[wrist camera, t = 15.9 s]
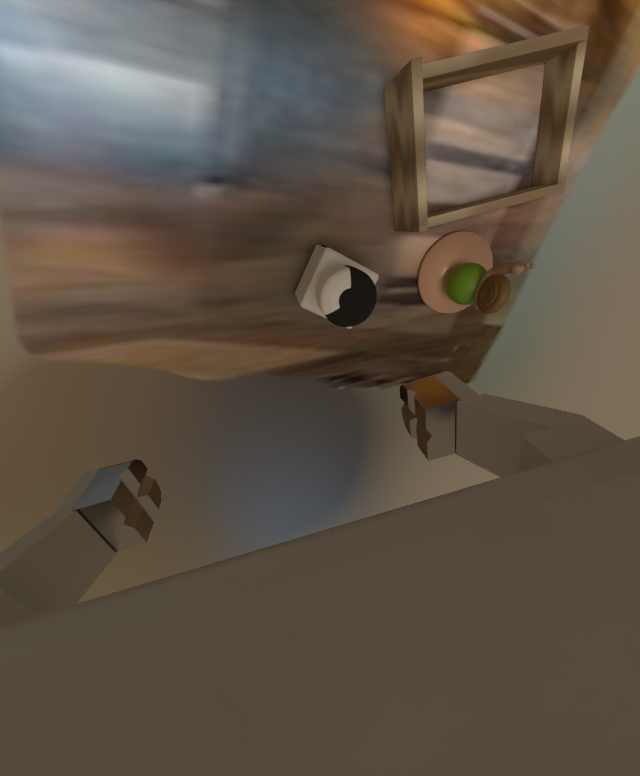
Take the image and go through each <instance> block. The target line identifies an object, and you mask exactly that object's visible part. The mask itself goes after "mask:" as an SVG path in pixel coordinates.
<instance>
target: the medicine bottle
mask: <svg viewBox="0 0 640 776" xmlns="http://www.w3.org/2000/svg"><path fill="white" fill-rule="evenodd" d="M378 277H379V276H378V274H377V273H375V272H373V271H371V270H369V269H367V268H366V267H364V266H362V265H360V264H358V263H356V262H355V261H353V260H351V259H349V258H347V257H346V256H344V255H342V254H340V253H338V252H336V251H335V250H333V249H331V248H329V247H326V246H324V245H321V244H317V245H316V246H315V248H314V251H313V253H312V255H311V257H310V260H309V262H308V264H307V267H306V269H305V271H304V273H303V276H302V278H301V280H300V283H299V285H298V287H297V289H296V292H295V295H296V297H297V299H298V302H299V304H300V306H301V307H302V308H304V309H307V310H309V311H311V312H313V313H315V314H318V315H320V316H322V317H324V318H326V319H328V320H329V321H330V322H332V323H333V324H335V325H337V326H341V327H346V328H348V329H351V328H352V327H353V326H355V325H358V324H360V323H362V322H363V321H364V320H366V319H367V318H368V317H369V315H370V314H371V313H372V311H373V309H374V306H375V303H376V297H377V293H376V287H375V284H376V282H377V280H378Z"/></svg>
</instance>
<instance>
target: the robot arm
mask: <svg viewBox="0 0 640 776" xmlns="http://www.w3.org/2000/svg"><path fill="white" fill-rule="evenodd" d="M400 398H401V399H402V400H403V402H404V405H403V407H402V409H401V410H402V418H403V421H404V424H405V427H406V429H407V431H408V433H409V434H410V435H411V437H413V438H416V439H417V443H418V447H419V448H420V450H421V451H422V453H423V454H424V455H425V457H426V458H427V460H432V459H436V458H440V457H444V456H448V455H451V454H455V453H456V455H458V456H460V457H462V458H464V459H466V460H468V461H470V462H472V463H474V464H476V465H478V466H480V467H482V468H484V469H486V470H488V471H490V472H492V473H494V474H496V475H498V476H499V477H501V478H497V479H494V480H491V481H487V482H484V483H481V484H477V485H474V486H471V487H467V488H464V489H461V490H457V491H454V492H451V493H447V494H444V495H441V496H437V497H434V498H431V499H428V500H424V501H421V502H417V503H414V504H411V505H407V506H404V507H401V508H397V509H394V510H390V511H387V512H384V513H380V514H377V515H373V516H370V517H367V518H363V519H360V520H357V521H353V522H350V523H346V524H343V525H339V526H336V527H333V528H329V529H326V530H322V531H319V532H316V533H312V534H309V535H306V536H303V537H299V538H296V539H292V540H289V541H286V542H282V543H279V544H275V545H272V546H269V547H265V548H262V549H259V550H256V551H252V552H249V553H246V554H242V555H239V556H235V557H232V558H229V559H225V560H222V561H219V562H215V563H212V564H209V565H205V566H202V567H199V568H195V569H192V570H188V571H185V572H182V573H179V574H175V575H172V576H168V577H165V578H161V579H158V580H155V581H151V582H148V583H145V584H141V585H138V586H135V587H131V588H128V589H124V590H121V591H118V592H114V593H111V594H108V595H104V596H101V597H98V598H94V599H91V600H88V601H84V602H81V603H78V604H76V603H77V602H78V601H79V600H80V598H81V597H82V596H83V595H84V594H85V592H86V591H87V590H88V588H89V587H90V586H91V585H92V584H93V583H94V581H95V580H96V579H97V578H98V576H99V575H100V574H101V573H102V571H103V570H104V569H105V568H106V567H107V565H108V564H109V563H110V562H111V560H112V559H113V558H114V557H115V555H116V552H119V551H123V550H125V549H129V548H132V547H135V546H138V545H141V544H144V543H147V540H148V537H149V534H150V532H151V529H152V527H153V524H154V522H153V520H152V518H151V517H152V516H153V515H154V514H155V513H156V511H158V509H159V506H160V504H161V490H160V487H159V485H158V483H157V482H156V480H155V479H154V478H151V477H149V476H147V475H146V473H147V467H146V466H145V465H144V464H143V462H142V461H141V460H137V459H135V460H131V461H127V462H123V463H119V464H115V465H112V466H108V467H104V468H100V469H96V470H93V471H90V472H87V473H85V474H82V475H81V476H80V477H79V479H78V480H77V481H76V483H75V484H74V486H73V487H72V488H71V490H70V491H69V492H68V494H67V495H66V497H65V498H64V499H63V501H62V502H61V504H60V505H59V506H58V508H57V509H56V510H55V512H54V513H53V515H52V516H51V517H50V518H47V519H44V520H43V521H42V522H40V523H39V524H38V525H36V526H35V527H34V528H32V529H31V530H30V531H28V532H27V533H26V534H24V535H23V536H22V537H21V538H19V539H18V540H17V541H15V542H14V543H13V544H11V545H10V546H9V547H8V548H6V549H5V550H4V551H2V552H1V553H0V776H640V436H639V437H635V438H632V439H628V440H623V439H621V438H620V437H618V436H616V435H615V434H613V433H611V432H610V431H608V430H606V429H605V428H603V427H601V426H599V425H598V424H596V423H595V422H593V421H591V420H590V419H588V418H586V417H585V416H583V415H580V414H575V413H571V412H566V411H562V410H557V409H552V408H548V407H543V406H538V405H534V404H529V403H525V402H520V401H516V400H511V399H506V398H502V397H497V396H493V395H488V394H482V395H479V394H478V393H476V392H475V391H474V390H472V389H471V388H470V387H469V386H467V385H466V384H465V383H463V382H462V381H461V380H460V379H458V378H457V377H456V376H454V375H453V374H452V373H451V372H448V371H445V372H442V373H439V374H436V375H432V376H430V377H427V378H423V379H420V380H417V381H413V382H410V383H407V384H404V385H400Z"/></svg>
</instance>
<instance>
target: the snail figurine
mask: <svg viewBox="0 0 640 776" xmlns="http://www.w3.org/2000/svg"><path fill="white" fill-rule="evenodd" d="M535 266H536V265H535V264H530V263H525V264H524V263H523V262H522V261H516V262H514V263H507V264H501V265H498V266H495V267H493V268H491V269H489V270H488V271H487V270H486V269H485V268H484V267H483V266H482V265H480V264H477V263H465V264H462V265H460V266H458V267H457V268H455V269H454V270H453V271H452V272H451V273H450V275H449V277H448V279H447V282H446V292H447V295H448V296H449V298H450V299H451V300H452V301H453V302H455V303H457V304H460V305H470V304H473V303H474V306H475V308H476V309H480V310H481V311H482V312H484V313H494V312H496V311H498V310H499V309H501V308H502V307H503V306H504V304H505V303H506V301H507V300H508V297H509V294H510V288H511V287H510V282H509V280H508V278H507V277H506V276H504V275H503V274H508V273H512V274H514V275H518V274H520V273H521V272H523V270H524V268H525V267H526V268H528V267H530V268H531V269H533V268H535Z"/></svg>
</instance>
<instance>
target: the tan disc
mask: <svg viewBox="0 0 640 776" xmlns="http://www.w3.org/2000/svg"><path fill="white" fill-rule="evenodd" d="M465 263H477V264H480V265H482V266H483V267H484V268H485V269H486V270H487V271H488V270H489V269H491V268H492V267H493V258H492V252H491V249H490V247H489V245H488V243H487V242H486V241H485V239H484V238H483V237H481V236H480V235H478V234H476V233H473V232H468V231H457V232H452V233H450V234H447V235H445V236H443V237H442V238H440V239H439V240H437V241H436V242H435V243H434V244H433V245H432V246H431V247H430V248H429V250H428V251H427V252H426V254H425V255H424V257H423V259H422V261H421V264H420V266H419V270H418V275H417V288H418V292H419V295H420V297H421V299H422V301H423V302H424V303H425V304H426V305H427V306H428V307H429V308H431V309H433V310H435V311H437V312H440V313H454V312H458V311H461V310H463V309H465V308H467V307H468V306H470V305H471V304H470V305H460V304H457V303H455V302H453V301H452V300H451V299H450V298H449V296H448V295H447V292H446V282H447V279H448V277H449V275H450V273H451V272H452V271H453V270H454V269H455V268H457V267H458V266H460V265H462V264H465Z"/></svg>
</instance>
